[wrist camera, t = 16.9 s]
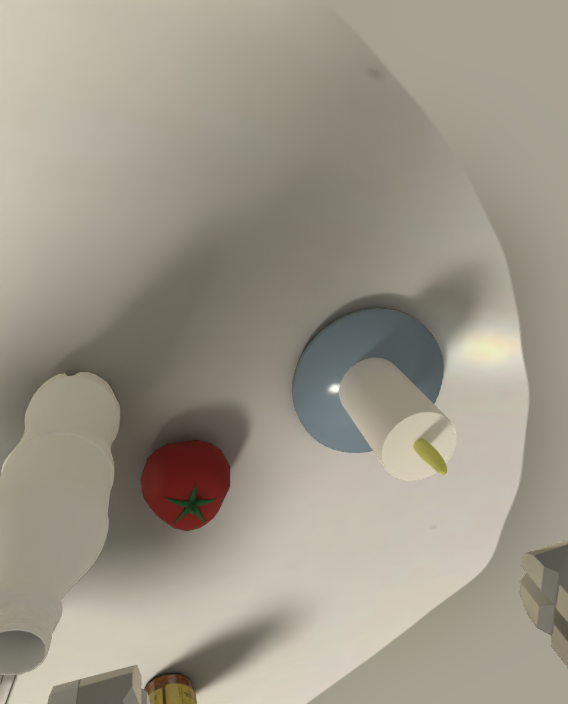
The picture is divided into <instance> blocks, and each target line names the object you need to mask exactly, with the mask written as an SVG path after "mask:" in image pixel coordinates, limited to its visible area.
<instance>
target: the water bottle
mask: <svg viewBox="0 0 568 704" xmlns="http://www.w3.org/2000/svg"><path fill="white" fill-rule="evenodd" d="M119 425H120V405H119V403H118V401H117V399H116V398H115V395H114V393H113V391H112V389H111V387H110V386H109V384H108V383H107V382H106V381H105V380H103V379H102V378H101V377H99V376H97V375H95V374H92V373H90V372H79V373H77V374H75V375H73V376H67V375H66V373H64V374H58V375H56V376H54V377H52V378H50V379H49V380H47V381H46V382H45V383H43V384H42V385H41V386H40V387H39V388H38V389H37V391H36V392H35V394H34V395H33V397H32V399H31V401H30V403H29V406H28V408H27V410H26V414H25V432H24V435H23V437H22V439H21V441H20V442H19V443H18V445H17V446H16V447H15V449H14V450H13V451H12V452H11V453H10V454H9V455H8V457H7V458H6V459H5V461H4V463H3V466H2V470H1V476H0V674H2V675H18V674H23V673H26V672H28V671H31V670H34V669H35V668H36V667H38V666H39V665H40V664H41V663H43V661H44V659H45V658H46V656H47V654H48V651H49V647H50V643H51V639H52V633H53V632H54V630H55V628H56V626H57V624H58V622H59V620H60V618H61V615H62V603H61V599H62V598H63V596H64V595H65V594H66V593H67V592H68V591H69V590H70V589H71V588H72V587H73V586H74V585H75V584H76V583H77V582H78V581H79V580H80V579H81V578H82V577H83V576H84V574H85V573H86V572H87V571H88V570H89V569H90V568H91V567H92V565H93V564H94V562H95V561H96V560H97V558H98V556H99V555H100V553H101V551H102V549H103V546H104V544H105V541H106V538H107V533H108V528H109V518H108V508H109V499H110V491H111V489H112V486H113V481H114V461H113V457H112V454H111V445H112V443H113V441H114V439H115V438H116V436H117V434H118V431H119Z"/></svg>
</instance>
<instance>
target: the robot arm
mask: <svg viewBox="0 0 568 704" xmlns="http://www.w3.org/2000/svg"><path fill="white" fill-rule="evenodd" d="M521 567H522V568H523V569H524V570H525V571H526V574H525V576H524V577H523V579H522V580H521V581H520V597H521V600H522V603H523V607H524V609H525V610H526V612H527V614H528V616H529V618H530V619H531V620H532V622H533V623H534V624H535V626H536V627H537V628H538V629H540V630H542V631H544V632H546V633H548V634H550V635H551V646H552V648H553V649H554V651H555V652H556V653H557V654H558V656H559V657H560V658H561V660H562V661H563V662H564V664H565V665H566V666H567V668H568V541H563V542H560V543H556V544H553V545H550V546H547V547H543V548H540V549H537V550H533V551H530V552H527V553H525V555H524V556H523V557H522V565H521ZM14 677H15V675H2V674H0V704H5V702H6V700H7V697H8V694H9V691H10V688H11V686H12V683H13V680H14ZM48 704H150V699H149V696H148V693H147V691H145V690H143V689H141V674H140V671H139V669H138V666H137V665H134V666H130V667H126V668H122V669H118V670H114V671H110V672H106V673H103V674H99V675H95V676H91V677H87V678H83V679H79V680H76V681H72V682H68V683H65V684H61V685H57V686H54V687H53V689H52V691H51V693H50V695H49V699H48Z"/></svg>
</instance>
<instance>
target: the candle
mask: <svg viewBox="0 0 568 704" xmlns="http://www.w3.org/2000/svg"><path fill="white" fill-rule="evenodd" d="M339 398H340V401H341V403H342V405H343V407H344V408H345V410H346V411H347V413H348V414H349V416H350V417H351V419H352V420H353V422H354V423H355V425H356V426H357V428H358V429H359V431H360V432H361V433H362V435H363V436H364V438H365V439H366V441H367V442H368V444H369V445H370V447H371V448H372V450H373V451H374V453H375V454H376V456H377V457H378V459H379V460H380V462H381V463H382V465H383V466H384V468H385V469H386V470H387V471H388V473H389V474H390V475H392V476H393V477H395V478H397V479H400V480H404V481H416V480H421V479H424V478H427V477H429V476H431V475H433V474H434V473H436V472H438V473H440V474H442V475H445V474H446V473H447V466H446V463H447V462H448V461H449V459H450V457H451V456H452V454H453V452H454V449H455V446H456V436H457V435H456V431H455V427H454V426H453V424H452V423H451V421H450V420H449V419H448V418H447V417H446V416H445V415H444V414H443V413H442V412H441V411H440V410H439V409H438V408H437V407H436V406H435V405H434V404H433V403H432V402H431V401H430V400H429V399H428V398H427V397H426V396H425V395H424V394H423V393H422V392H421V391H420V390H419V389H418V388H417V387H416V386H415V385H414V384H413V383H412V382H411V381H410V380H409V379H408V378H407V377H406V376H405V375H404V374H403V373H402V372H401V371H400V370H399V369H398V368H397V367H396V366H395V365H394V364H393V363H391V362H390V361H388V360H386V359H383V358H368V359H364V360H362V361H360V362H357V363H356V364H355V365H353V366H352V367H351V368H350V369H349V370H348V371H347V372H346V373H345V375H344V377H343V379H342V381H341V383H340V387H339Z"/></svg>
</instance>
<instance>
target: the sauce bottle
mask: <svg viewBox="0 0 568 704" xmlns="http://www.w3.org/2000/svg"><path fill="white" fill-rule="evenodd" d="M144 690H145V691H147V693H148V696H149V699H150V704H197V701H196V695H195V692H194V686H193V684H192V683H191V681H190V680H189V679H188V678H187V677H186V676H183V675H182V674H170V675H169V674H168V675H162V676H160V677H158V678H155V679H154V680H152V681H151V682H150V683H149V684H148V685H147V686H146V687H145V689H144Z"/></svg>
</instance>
